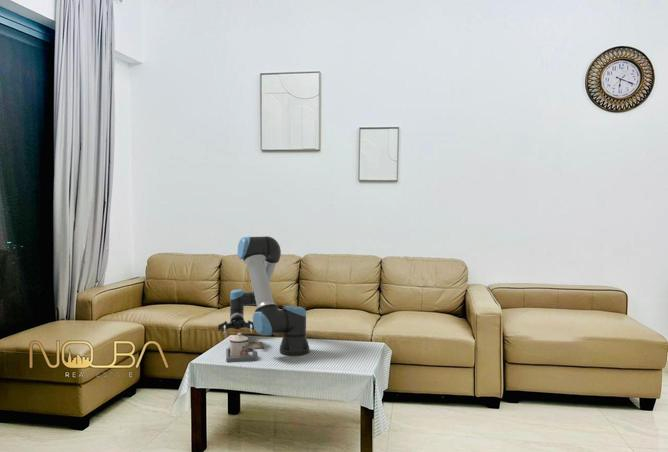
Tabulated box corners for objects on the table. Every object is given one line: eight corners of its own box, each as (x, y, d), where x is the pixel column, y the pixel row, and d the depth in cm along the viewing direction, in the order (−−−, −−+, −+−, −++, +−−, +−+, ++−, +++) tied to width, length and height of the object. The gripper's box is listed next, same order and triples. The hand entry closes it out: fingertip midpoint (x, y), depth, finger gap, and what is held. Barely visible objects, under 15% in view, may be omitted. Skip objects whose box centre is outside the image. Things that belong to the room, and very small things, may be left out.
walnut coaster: (262, 342, 273) (262, 341, 272) (263, 348, 261) (263, 347, 261) (239, 343, 270) (239, 342, 270) (240, 349, 258) (240, 348, 258)
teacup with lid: (242, 360, 239) (242, 336, 239) (226, 358, 242) (226, 334, 242) (254, 353, 251) (254, 330, 250) (238, 352, 254) (238, 329, 253)
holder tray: (254, 350, 256) (254, 347, 256) (256, 360, 240) (256, 356, 240) (226, 352, 253) (226, 348, 253) (226, 362, 237) (226, 358, 237)
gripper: (259, 326, 281) (262, 336, 260) (214, 328, 275) (213, 338, 255) (259, 313, 280) (262, 322, 260) (214, 315, 275) (213, 324, 254)
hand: (238, 330), depth 257 cm, fingers open, 13 cm apart
